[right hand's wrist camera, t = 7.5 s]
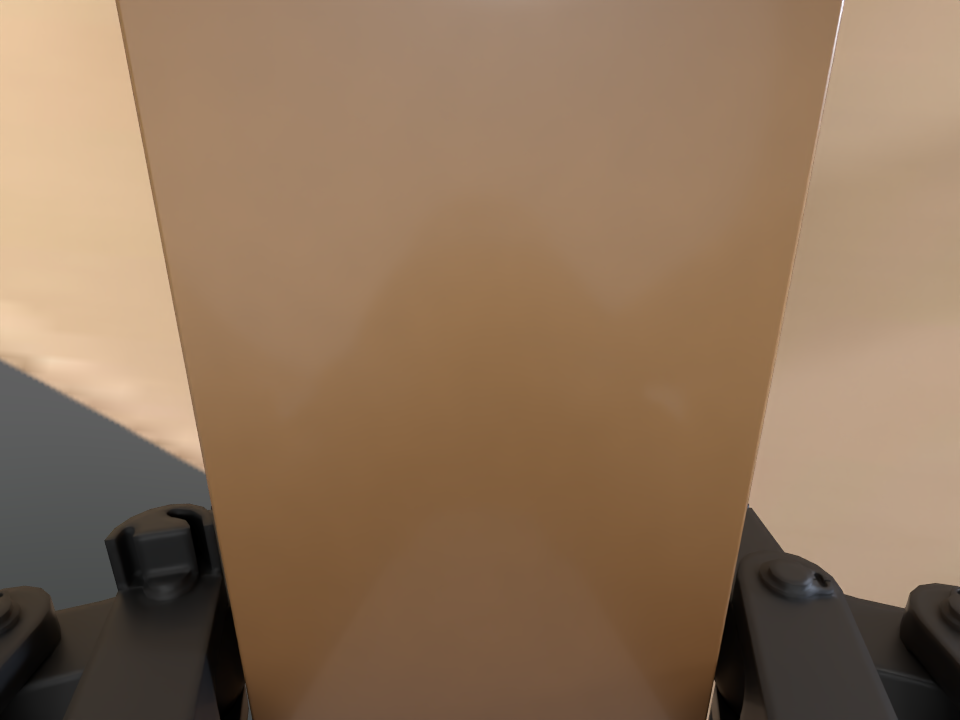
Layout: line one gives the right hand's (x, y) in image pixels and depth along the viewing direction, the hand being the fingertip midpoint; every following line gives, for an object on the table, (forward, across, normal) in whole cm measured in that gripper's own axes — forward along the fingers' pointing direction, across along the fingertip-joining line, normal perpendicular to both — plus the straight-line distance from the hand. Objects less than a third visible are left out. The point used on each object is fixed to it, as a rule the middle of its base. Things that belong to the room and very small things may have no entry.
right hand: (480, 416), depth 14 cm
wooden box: (+1, 0, -10) cm, 10 cm away
